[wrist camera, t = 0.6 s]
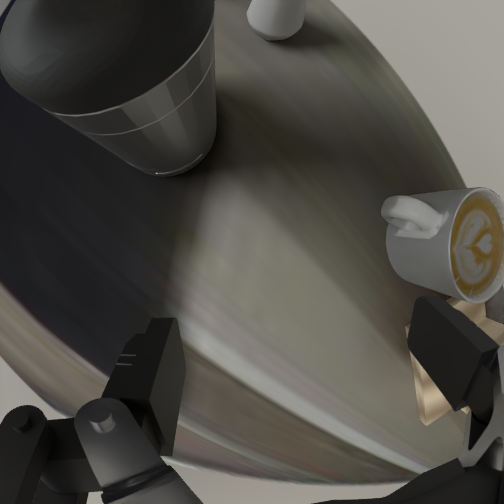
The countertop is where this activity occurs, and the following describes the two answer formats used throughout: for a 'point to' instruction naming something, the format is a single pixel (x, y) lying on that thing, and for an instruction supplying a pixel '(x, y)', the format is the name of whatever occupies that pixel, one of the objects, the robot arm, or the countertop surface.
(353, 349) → the countertop surface
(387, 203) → the coffee mug
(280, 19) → the salt shaker
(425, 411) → the shelf stand
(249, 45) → the countertop surface
